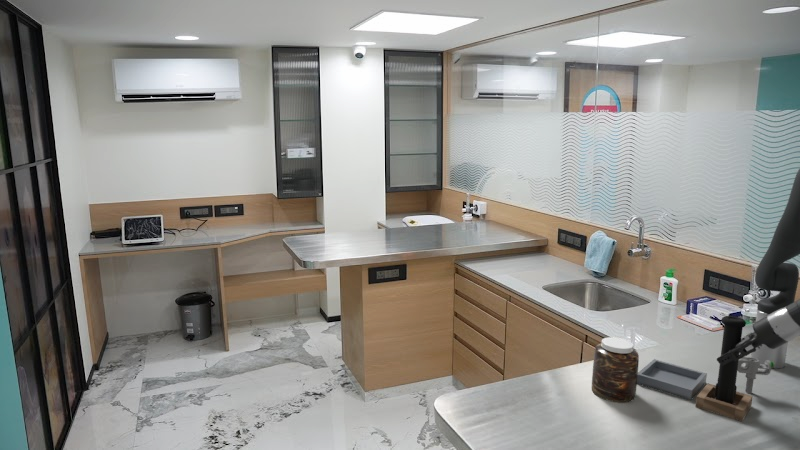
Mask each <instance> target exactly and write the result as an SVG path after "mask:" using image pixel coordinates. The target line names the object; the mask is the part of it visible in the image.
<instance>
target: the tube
mask: <svg viewBox="0 0 800 450" xmlns="http://www.w3.org/2000/svg"><path fill="white" fill-rule="evenodd" d="M721 323H722V324H723V325H724V326H723V327H724V328H723V334H722V343H721V351H720V356H722V355H724V354H725V353H727V352H729V350H732V349H733V348H735V345H736V344H737V343H739V342H740V341H741V338H743V337H742V336H743V328H745V327H746V325H747V322H746V320H745V319H743V318H742V317H738V316H733V315H726V316H723V317H721ZM735 354H736V355H737V356H738V355H740V352H739V351H736V352H735ZM738 361H739V360H738ZM738 361H735V360H733V361H731V362H729V363H727V364H725V365H723V366H722V365H720V364H719V368H718V376H717V382H716V383H715V385H716V387H715V396H716V398H715V399H716V400H719V401H723V402H726V403H729V404H733V401H734V398H735V397H736V391H737V388H738V387H737V385H736V382H737V376H738V371H737V369H738ZM733 405H734V404H733Z"/></svg>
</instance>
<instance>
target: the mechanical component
mask: <svg viewBox="0 0 800 450" xmlns="http://www.w3.org/2000/svg"><path fill="white" fill-rule="evenodd" d="M773 366H774V364H773V362H770V361H769V360H766V361H765V363H764V364H760V363H759V360H758V359H755V358H751V356H750V357H749V356H748V357H747V356H745V357H743V358H741V359H739V361H738V369H737V373H741V374H745V375H744V377H745V378H746V384H745V385H746V386H745V392H746V394H748V395H752V392H753V389H754V387H753V386H754V380H756V379H757V375H760V376H761V375H762V376H768V375H770V374H771V371H772V368H771V367H773Z"/></svg>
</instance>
